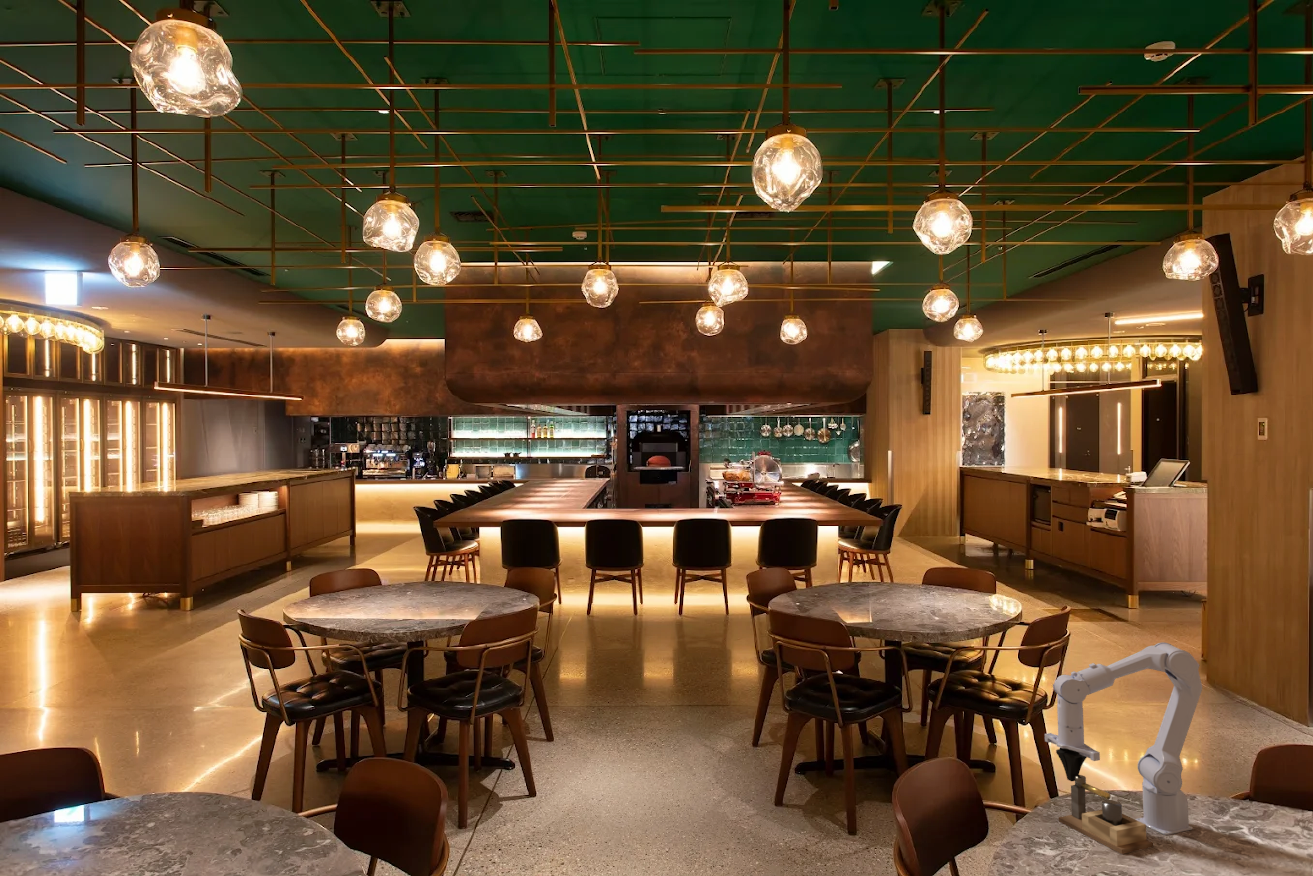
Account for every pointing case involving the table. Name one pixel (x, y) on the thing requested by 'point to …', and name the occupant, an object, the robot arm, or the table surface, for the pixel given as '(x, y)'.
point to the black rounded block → (1112, 812)
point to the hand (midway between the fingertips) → (1072, 780)
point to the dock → (1105, 826)
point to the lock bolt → (1089, 787)
